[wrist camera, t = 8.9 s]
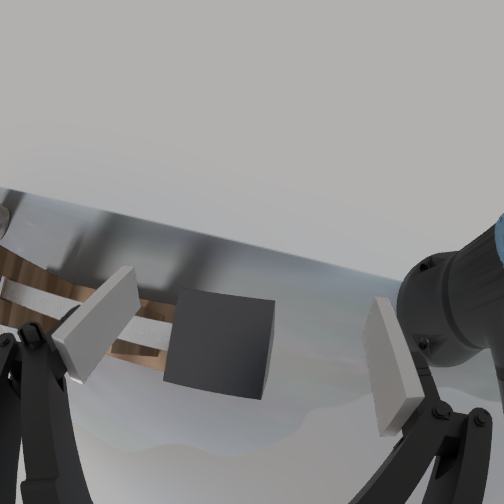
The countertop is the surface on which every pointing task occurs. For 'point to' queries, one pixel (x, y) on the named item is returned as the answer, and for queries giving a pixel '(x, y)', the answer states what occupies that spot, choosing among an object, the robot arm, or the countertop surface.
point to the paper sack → (4, 220)
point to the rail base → (38, 278)
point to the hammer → (192, 337)
